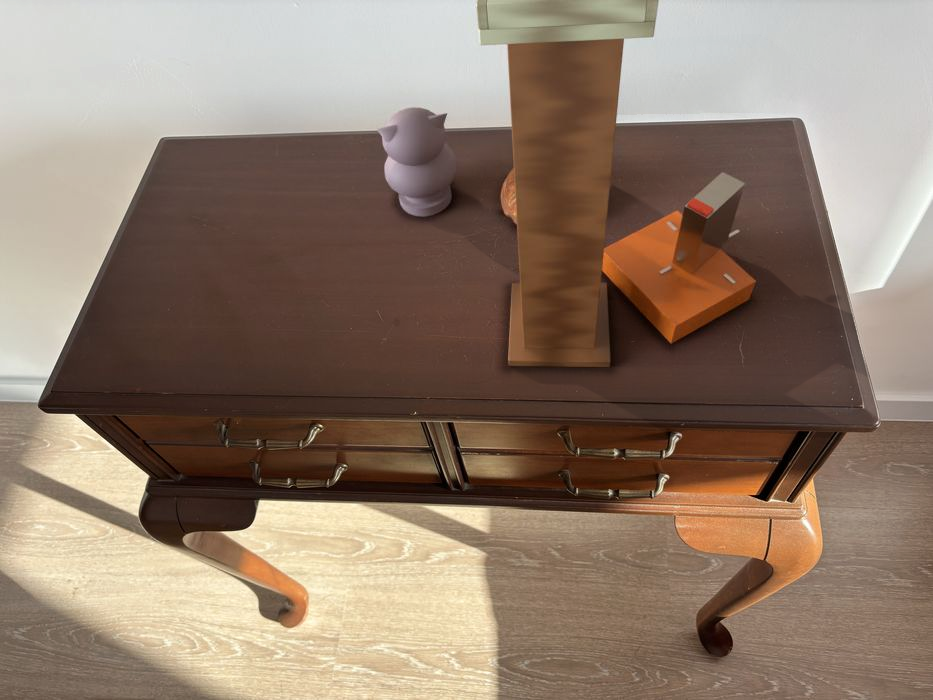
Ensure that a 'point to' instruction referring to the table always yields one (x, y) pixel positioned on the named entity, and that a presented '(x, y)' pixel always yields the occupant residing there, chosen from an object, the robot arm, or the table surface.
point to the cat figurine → (419, 160)
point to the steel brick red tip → (707, 222)
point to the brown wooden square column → (562, 165)
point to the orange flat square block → (674, 280)
